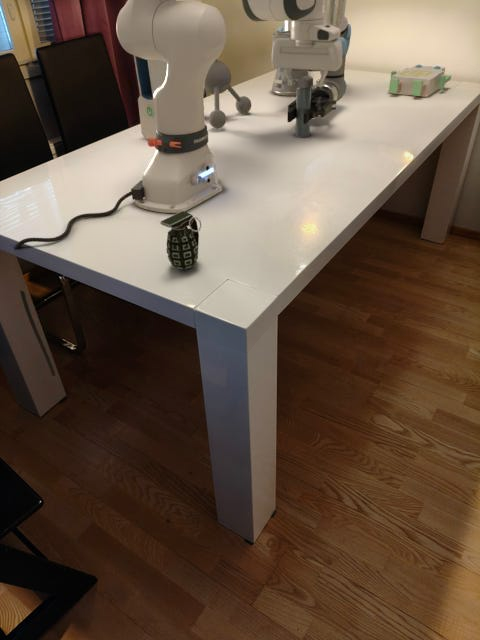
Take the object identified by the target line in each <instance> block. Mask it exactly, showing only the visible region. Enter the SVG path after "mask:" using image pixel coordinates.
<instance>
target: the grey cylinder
mask: <svg viewBox="0 0 480 640" xmlns="http://www.w3.org/2000/svg"><path fill="white" fill-rule="evenodd" d="M311 92H312V87H309V88H298V87H297V93H296V97H295V100H296V118H295V136H296V137H297V138H307V137H309V136H310V135H311V134H310V133H311V120H310V121H309V122H308V123H306V124H303V121H304V113H306V112H307V111H308V110H309V109H311Z"/></svg>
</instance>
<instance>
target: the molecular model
mask: <svg viewBox="0 0 480 640" xmlns="http://www.w3.org/2000/svg"><path fill="white" fill-rule="evenodd" d="M231 82H232V73H231V70H230V68H229V66H228V65H227V64H226V63H224V62H223V61H222V60H218V58H217V59H216V60H215V61H214V62H213V64H212V65H211V67H210V68H209V70H208V73H207V76H206V79H205V83H204V91H203V99H204V97H205V96H206V93H207V92H208V93H210V94H212V95H214V96H213V97H214V110H212V111H211V112H210V114H209V116H208V122H209V124H210V126H211V127H212V128H215V129H221V128H223V127H225V125H226V123H227V116H226V113H224V111H222V110H221V109H220V94H223V93H224V92H226V91H228V92H229V93H230V95H232V97H233V98H234V99H235V100H236V101H235V109H236V111H237V112H238V113H240V114H247V113H249V112H250V110H251V109H252V101H251V99H250V98H249V97H248V96H245V95H242V96H240V95H239V94H238V93H237V92H236V91H235V89H234V88H233V86H231Z"/></svg>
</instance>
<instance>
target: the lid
mask: <svg viewBox="0 0 480 640" xmlns="http://www.w3.org/2000/svg"><path fill="white" fill-rule="evenodd" d="M313 86H314V76H310V75H309V76H299V77H296V78H295V87H298V88H309V87H311V88H312V87H313Z"/></svg>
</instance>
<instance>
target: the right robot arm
mask: <svg viewBox="0 0 480 640" xmlns="http://www.w3.org/2000/svg"><path fill="white" fill-rule="evenodd" d="M346 5H347V0H324V3H323V13H324V22H325V23H327V24H330V25H332V26H335V27H337V28H339V29H340V30H341V34H340V36H339V37H338V39H339V40H340V41H341V43H342V66H341V67H340V68H339V69H338V70H336V71H328V73H327V75H326V77H325V78H324V80H323V87H321V88H319V87H315V88H314V89H312V90H311V109H309V110H308V111H307V112H306V113H304V121H303V124H306V123H308V122H309V121H310V122H311V120H312V119H313V120H314V119H315V118H318V117H320V118H324V117H326V116H327V115H329V114H330V113H331V112H332V111H335V110H336V109H337V102H338V101H340V100H341V99H342V98H343V96H345V94H346V92H347V87H348V86H347V85H348V84H347V82H346V80H345V68H346V57H347V55H348V52H349V48H350V43H351V36H352V26H351V24H350V23H349V21H348V19H347V17H346V16H345V14H346V7H347V6H346ZM279 30H281V31H291V21H283V24H282V25H280V26H279V27H278V28H277V30H276V32H277V31H279ZM275 71H276V72H275V75H274V79H273V82H272V87H271V92H272V94H274V95H277V96H283V97H295V96H296V93H297V87H295V84H294V85H293V86H289V85H288V79H287V77H286V75H285V73H284V68H276V70H275ZM309 72H310V73H311V72H320V70H306V69H291V71H290V73H291V76H292V78H296V77H299V76H310V75H309ZM320 75H321V74H320ZM321 76H322V75H321ZM321 76H320V77H321ZM294 82H295V81H294ZM294 120H296V99H294V100H293V101H291V102H290V103H289V104H287V119H286V121H287V123H291V122H293V121H294Z"/></svg>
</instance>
